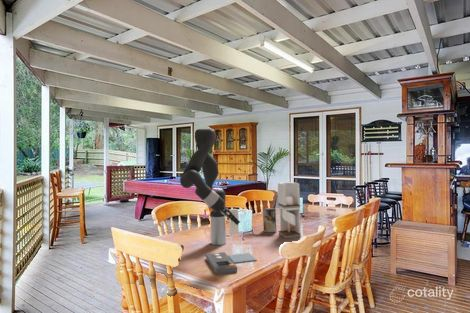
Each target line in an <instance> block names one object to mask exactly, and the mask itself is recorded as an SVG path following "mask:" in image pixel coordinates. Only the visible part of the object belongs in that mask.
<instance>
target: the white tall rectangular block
mask: <svg viewBox="0 0 470 313" xmlns="http://www.w3.org/2000/svg"><path fill="white" fill-rule="evenodd" d="M228 209H229V208H228ZM229 210H230V211H231V212H232V214H233V215H234V216H235V218H237V219H238V220H239V210H238V209H237V208H230V209H229ZM232 217H233V216H231V217H230V218H232ZM230 218H228V233H229V235H231V236H233V235H240V234H239V233H240V230H239V228H240V227H239V225H240V223H239V224H238V225H237V224H235V223H234V222H233V221H232V220H231V219H230Z"/></svg>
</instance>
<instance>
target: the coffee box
mask: <svg viewBox="0 0 470 313" xmlns="http://www.w3.org/2000/svg"><path fill="white" fill-rule="evenodd" d="M262 219H263V220H262V224H263V226H262V227H263V233H277V212H276V208H275V207H265V208H262Z"/></svg>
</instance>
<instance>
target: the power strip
mask: <svg viewBox="0 0 470 313" xmlns="http://www.w3.org/2000/svg"><path fill="white" fill-rule="evenodd" d="M205 257H206V258H205V260H206V261H207V263H208V264H209V265H210V267H211V268H212V270H213V271H214V274H215V275H226V274H233V273H238V266H237V264H236V263H233V261H232V260H231V259H230V258H229V257H228V254H226V252H214V253H206V256H205Z"/></svg>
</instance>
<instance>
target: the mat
mask: <svg viewBox="0 0 470 313" xmlns="http://www.w3.org/2000/svg"><path fill="white" fill-rule="evenodd" d="M227 256H228V257H229V258H230V259H231V260H232V262H233V263H234V264H241V263H248V262H250V263H251V262H256V261H257V259H256V257H254V256H253V255H252V254H251V253H250V252H247V253H237V254H229V255H228V254H227Z"/></svg>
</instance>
